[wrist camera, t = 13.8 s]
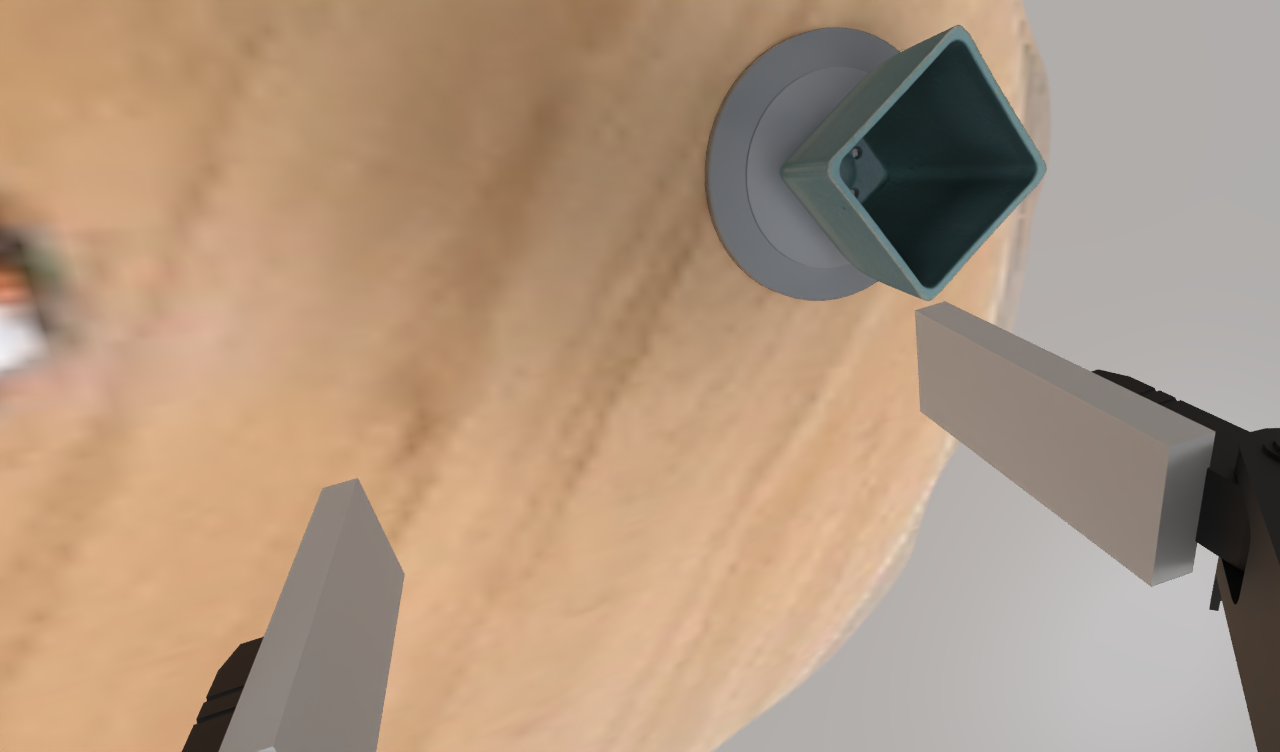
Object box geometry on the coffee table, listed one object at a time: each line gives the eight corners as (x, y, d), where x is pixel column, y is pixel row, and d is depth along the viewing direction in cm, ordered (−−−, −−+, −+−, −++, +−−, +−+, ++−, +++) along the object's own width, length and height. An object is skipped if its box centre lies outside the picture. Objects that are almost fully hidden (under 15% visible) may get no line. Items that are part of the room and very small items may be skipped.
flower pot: (844, 52, 38) (963, 17, 29) (925, 172, 41) (1053, 171, 33) (734, 170, 37) (823, 167, 29) (826, 280, 41) (928, 306, 33)
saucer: (727, 4, 36) (737, -1, 35) (955, 58, 41) (971, 55, 40) (687, 287, 40) (695, 290, 39) (901, 307, 45) (914, 310, 43)
